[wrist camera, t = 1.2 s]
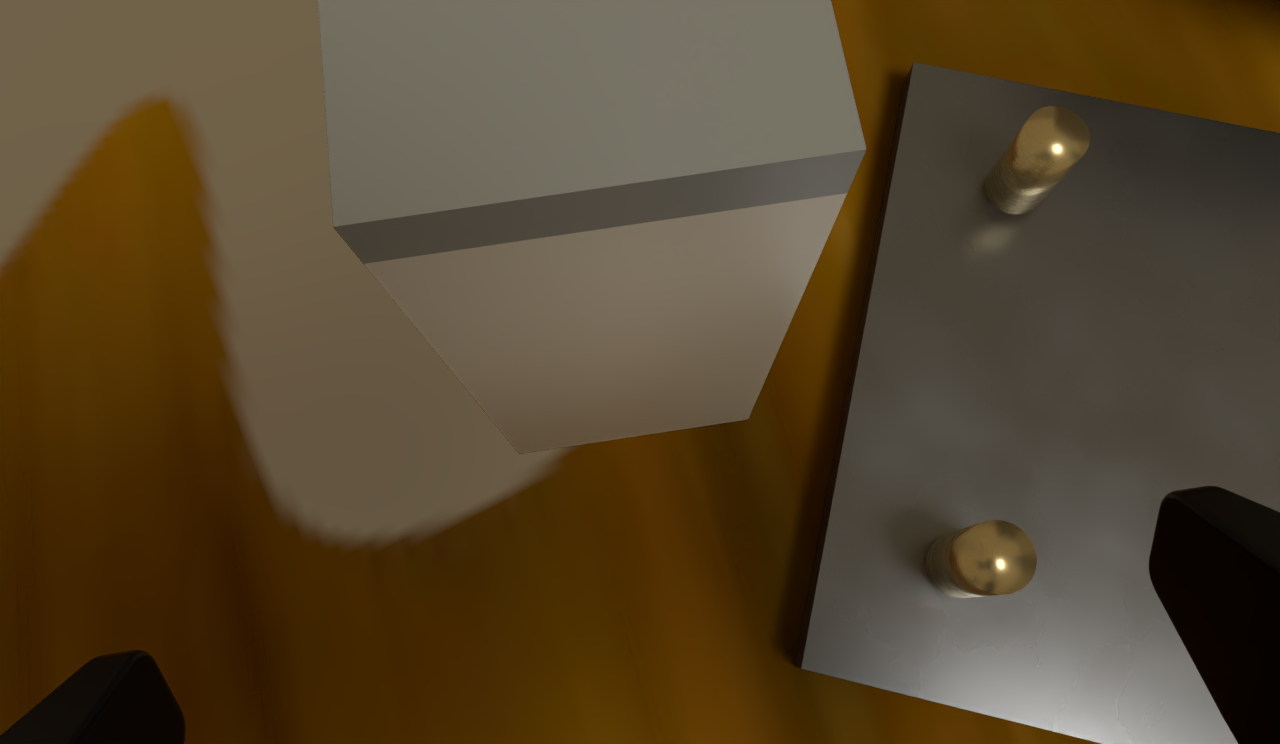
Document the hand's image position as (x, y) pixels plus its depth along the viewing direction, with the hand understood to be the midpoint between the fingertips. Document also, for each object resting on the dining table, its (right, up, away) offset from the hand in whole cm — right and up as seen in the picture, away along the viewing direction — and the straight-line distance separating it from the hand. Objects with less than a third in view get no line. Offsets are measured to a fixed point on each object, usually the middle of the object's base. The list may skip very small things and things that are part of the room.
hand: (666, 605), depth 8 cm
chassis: (+12, +1, +14) cm, 18 cm away
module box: (-1, +3, +14) cm, 15 cm away
